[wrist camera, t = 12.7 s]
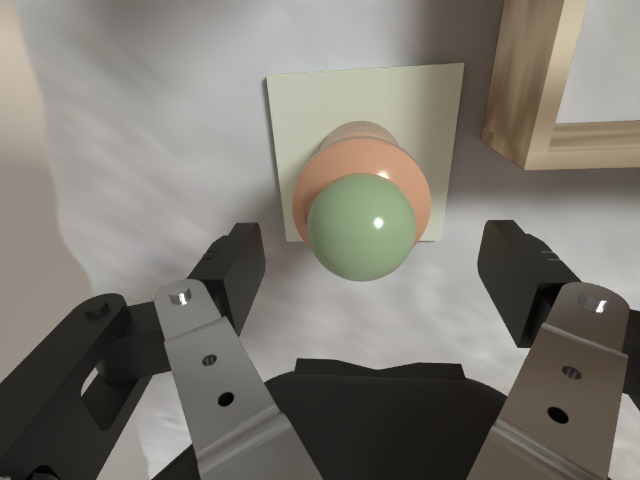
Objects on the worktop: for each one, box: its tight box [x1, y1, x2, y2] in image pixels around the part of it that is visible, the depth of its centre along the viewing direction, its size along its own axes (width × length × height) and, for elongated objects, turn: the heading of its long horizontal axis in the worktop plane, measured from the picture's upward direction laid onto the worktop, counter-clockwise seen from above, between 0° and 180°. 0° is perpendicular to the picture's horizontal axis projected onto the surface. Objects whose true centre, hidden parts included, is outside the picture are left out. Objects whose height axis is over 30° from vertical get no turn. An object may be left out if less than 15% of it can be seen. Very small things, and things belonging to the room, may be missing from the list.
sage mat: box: [266, 63, 465, 242], centre depth 22 cm, size 11×11×1 cm
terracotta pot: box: [292, 121, 431, 282], centre depth 17 cm, size 6×6×11 cm
